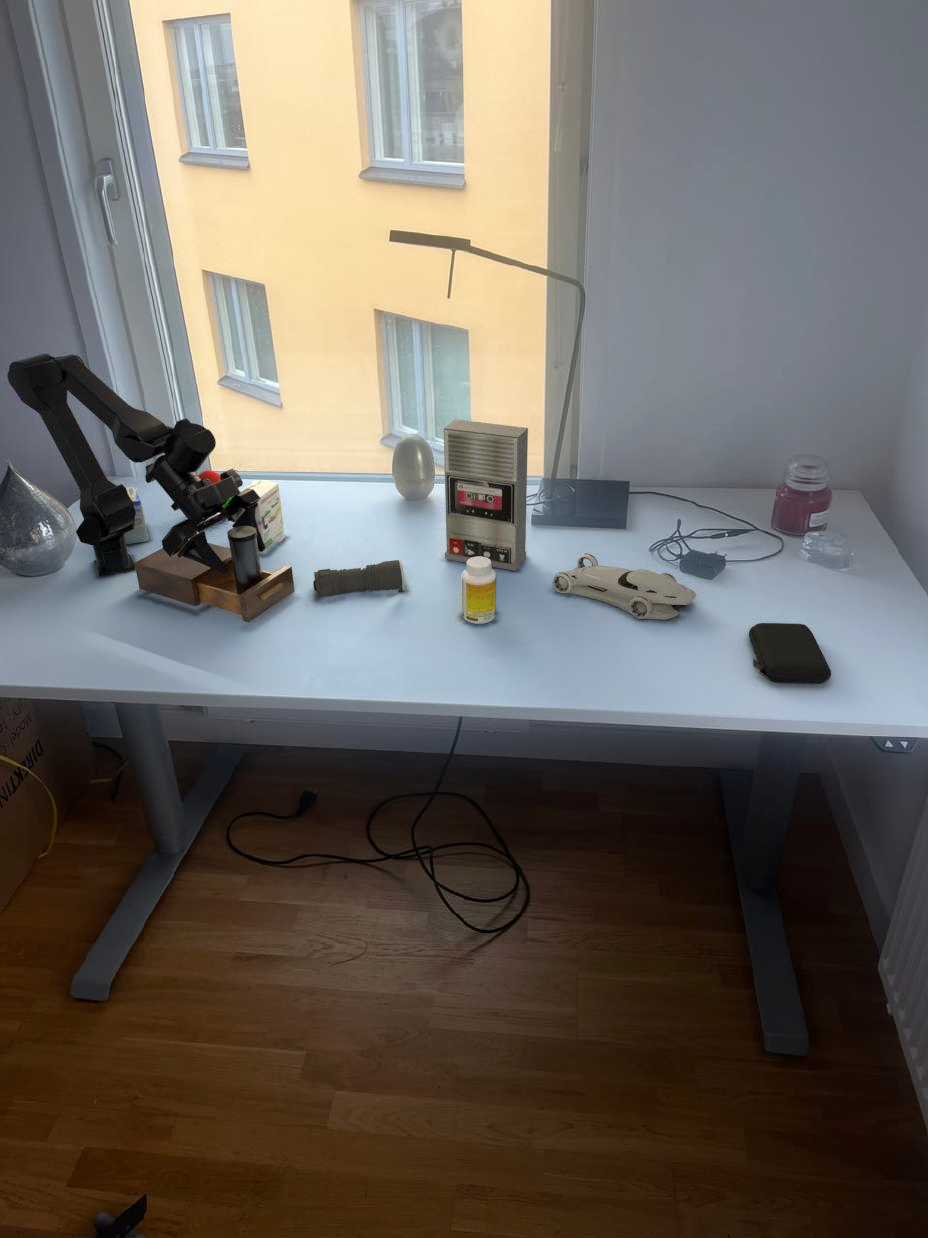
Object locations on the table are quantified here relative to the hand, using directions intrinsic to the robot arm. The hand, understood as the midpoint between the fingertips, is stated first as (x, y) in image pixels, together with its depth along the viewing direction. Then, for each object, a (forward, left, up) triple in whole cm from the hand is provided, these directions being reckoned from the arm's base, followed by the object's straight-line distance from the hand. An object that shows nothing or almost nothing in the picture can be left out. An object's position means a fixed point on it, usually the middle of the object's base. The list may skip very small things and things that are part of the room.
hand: (245, 561), depth 154 cm
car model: (+27, +57, -9) cm, 64 cm away
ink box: (-23, +9, -9) cm, 26 cm away
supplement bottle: (+21, +32, -9) cm, 40 cm away
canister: (0, 0, -7) cm, 7 cm away
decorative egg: (-41, +4, -9) cm, 42 cm away
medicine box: (-40, -12, -9) cm, 42 cm away
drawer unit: (-11, -7, -9) cm, 16 cm away
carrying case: (+55, +66, -9) cm, 87 cm away
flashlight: (+4, +18, -9) cm, 21 cm away
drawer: (-1, -1, -8) cm, 9 cm away
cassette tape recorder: (+3, +43, -9) cm, 44 cm away
